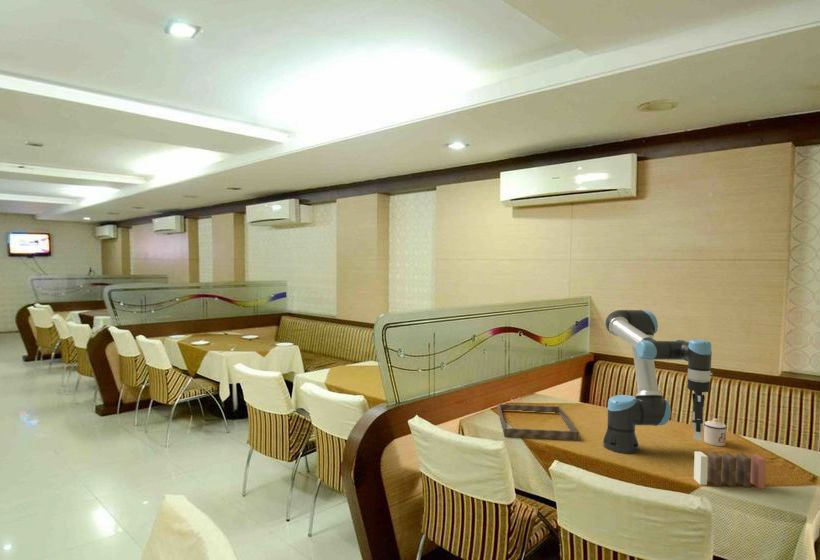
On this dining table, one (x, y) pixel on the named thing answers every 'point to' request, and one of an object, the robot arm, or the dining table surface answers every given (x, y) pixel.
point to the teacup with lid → (715, 433)
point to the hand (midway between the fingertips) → (697, 434)
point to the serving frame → (537, 433)
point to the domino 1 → (700, 468)
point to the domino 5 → (758, 471)
